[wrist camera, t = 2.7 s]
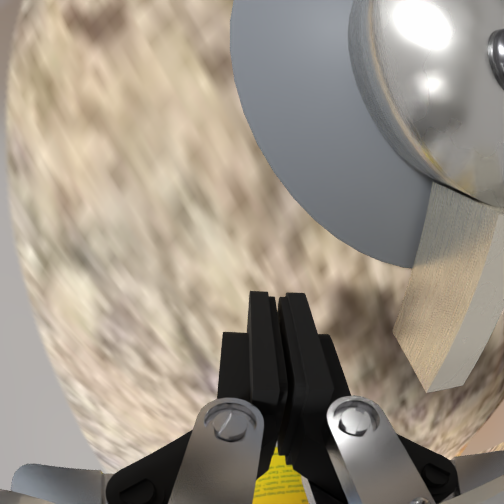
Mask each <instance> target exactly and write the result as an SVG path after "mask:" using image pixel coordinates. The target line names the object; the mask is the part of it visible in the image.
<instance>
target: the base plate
mask: <svg viewBox="0 0 504 504" xmlns="http://www.w3.org/2000/svg"><path fill="white" fill-rule="evenodd" d="M353 1H354V0H234V2H233V8H232V14H231V19H230V53H231V60H232V67H233V73H234V80H235V84H236V88H237V91H238V94H239V98H240V101H241V105H242V108H243V112H244V114H245V117H246V119H247V121H248V123H249V126H250V128H251V130H252V133H253V135H254V137H255V140H256V142H257V144H258V146H259V147H260V149H261V151H262V153H263V154H264V156H265V158H266V159H267V161H268V163H269V165H270V166H271V168H272V170H273V171H274V173H275V174H276V176H277V177H278V178H279V179H280V181H281V182H282V183H283V185H284V186H285V187H286V189H287V190H288V191H289V193H290V194H291V195H292V197H293V198H294V199H295V200H296V201H297V202H298V203H299V204H300V205H301V206H302V207H303V208H304V209H305V210H306V212H307V213H308V214H309V215H310V216H311V217H312V218H313V219H314V220H315V221H316V222H318V223H319V224H320V225H321V226H323V227H324V228H325V229H326V230H328V231H329V232H330V233H331V234H333V235H334V236H335V237H336V238H338V239H339V240H341V241H343V242H344V243H346V244H348V245H349V246H351V247H352V248H354V249H356V250H357V251H359V252H361V253H363V254H366V255H368V256H370V257H373V258H375V259H377V260H379V261H382V262H385V263H389V264H393V265H396V266H400V267H405V268H413V265H414V262H415V258H416V255H417V251H418V247H419V243H420V239H421V235H422V231H423V226H424V222H425V218H426V213H427V208H428V204H429V199H430V193H431V188H432V182H437V183H441V182H439V181H437V180H435V179H432V178H430V177H428V176H426V175H425V174H423V173H421V172H420V171H418V170H417V169H415V168H414V167H413V166H411V165H410V164H409V163H408V162H407V161H406V160H404V159H403V158H402V157H401V156H400V155H399V154H398V153H397V152H396V151H395V150H394V148H393V147H392V146H391V145H390V144H389V143H388V141H387V140H386V139H385V137H384V136H383V135H382V133H381V132H380V131H379V129H378V127H377V126H376V124H375V123H374V121H373V119H372V118H371V116H370V114H369V112H368V110H367V108H366V106H365V104H364V102H363V100H362V97H361V95H360V92H359V89H358V87H357V84H356V81H355V78H354V74H353V70H352V67H351V61H350V55H349V49H348V24H349V15H350V12H351V8H352V4H353ZM442 184H443V183H442Z"/></svg>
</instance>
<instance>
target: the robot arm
mask: <svg viewBox="0 0 504 504" xmlns="http://www.w3.org/2000/svg"><path fill="white" fill-rule="evenodd" d="M276 443H277V447H278V455H279V456H285V461H286V465H292V467H293V470H295V471H296V472H298V473H299V474H301V478H302V484H303V487H304V490H305V493H306V496H307V499H308V502H309V504H504V451H495V452H489V453H482V454H475V455H467V456H458V457H454V458H453V459H452V460H448V459H447V458H445V457H444V456H442V455H440V454H437V453H435V452H433V451H431V450H429V449H427V448H425V447H423V446H420V445H418V444H416V443H414V442H412V441H410V440H408V439H406V438H404V437H402V436H400V435H398V434H396V432H395V431H394V429H393V427H392V425H391V424H390V422H389V420H388V419H387V417H386V415H385V413H384V412H383V410H382V409H381V408H380V407H379V405H377V404H376V403H375V402H373V401H372V400H370V399H367V398H365V397H361V396H351V394H350V391H349V388H348V385H347V382H346V379H345V376H344V373H343V370H342V367H341V364H340V362H339V359H338V356H337V353H336V350H335V347H334V344H333V342H332V339H331V337H330V335H328V334H318V333H317V330H316V327H315V323H314V320H313V317H312V314H311V311H310V308H309V304H308V301H307V298H306V295H305V293H286V296H285V297H280V298H279V303H278V311H277V308H276V302H275V297H269V296H268V292H260V291H250V295H249V310H248V324H247V333H236V332H223V338H222V348H221V359H220V371H219V382H218V394H217V399H216V400H214V401H212V402H209V403H208V404H206V405H205V406H204V407H203V408H202V409H201V411H200V412H199V414H198V416H197V419H196V422H195V425H194V428H193V430H191V431H190V432H188V433H186V434H185V435H183V436H181V437H180V438H178V439H176V440H175V441H173V442H171V443H169V444H168V445H166V446H164V447H162V448H161V449H159V450H157V451H155V452H153V453H152V454H150V455H148V456H146V457H144V458H142V459H141V460H139V461H137V462H135V463H133V464H131V465H129V466H127V467H125V468H123V469H121V470H120V471H118V472H117V473H115V474H104V473H102V471H101V470H86V469H74V468H64V467H55V466H48V465H41V464H26V465H23V466H21V467H20V468H19V469H18V470H17V471H16V472H15V473H14V476H13V479H12V485H11V491H8V490H2V489H0V504H252V502H253V496H254V490H255V484H256V480H257V479H258V478H260V477H261V476H262V475H263V474H264V473H266V472H267V471H268V470H269V466H270V462H271V458H272V456H273V455H274V451H275V447H276Z"/></svg>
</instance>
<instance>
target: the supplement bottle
mask: <svg viewBox="0 0 504 504" xmlns="http://www.w3.org/2000/svg"><path fill="white" fill-rule="evenodd" d="M252 504H309V502H308V499H307V496H306V493H305V490H304V487H303V484H302V478H301V474H299V473H298V472H296V471H295V470H293V467H292V465H286V461H285V456H279V455H278V447H277V443H276V447H275V451H274V455H273V456H272V458H271V462H270V466H269V470H268V471H267V472H266V473H264V474H263V475H262V476H261V477H260V478H258V479H257V480H256V484H255V490H254V496H253V502H252Z"/></svg>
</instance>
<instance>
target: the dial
mask: <svg viewBox="0 0 504 504" xmlns="http://www.w3.org/2000/svg"><path fill="white" fill-rule="evenodd" d="M348 49H349V55H350V61H351V67H352V70H353V74H354V78H355V81H356V84H357V87H358V89H359V92H360V95H361V97H362V100H363V102H364V104H365V106H366V108H367V110H368V112H369V114H370V116H371V118H372V119H373V121H374V123H375V124H376V126H377V127H378V129H379V131H380V132H381V133H382V135H383V136H384V137H385V139H386V140H387V141H388V143H389V144H390V145H391V146H392V147H393V148H394V150H395V151H396V152H397V153H398V154H399V155H400V156H401V157H402V158H403V159H404V160H406V161H407V162H408V163H409V164H410V165H411V166H413V167H414V168H415V169H417V170H418V171H420V172H421V173H423V174H425V175H426V176H428V177H430V178H432V179H435V180H437V181H439V182H441V183H437V182H432V188H431V193H430V199H429V204H428V208H427V213H426V218H425V222H424V226H423V231H422V235H421V239H420V243H419V247H418V251H417V255H416V258H415V262H414V265H413V269H412V272H411V276H410V279H409V283H408V286H407V289H406V292H405V295H404V298H403V302H402V305H401V308H400V311H399V313H398V316H397V319H396V322H395V325H394V328H393V330H392V332H393V334H394V335H395V337H396V339H397V341H398V342H399V344H400V346H401V348H402V349H403V351H404V353H405V355H406V357H407V358H408V360H409V362H410V364H411V366H412V367H413V369H414V371H415V373H416V375H417V377H418V379H419V380H420V382H421V384H422V386H423V388H424V390H425V392H426V393H428V392H434V391H439V390H444V389H449V388H453V387H458V386H462V385H463V384H464V383H465V381H466V379H467V378H468V376H469V374H470V373H471V371H472V369H473V368H474V366H475V364H476V362H477V360H478V359H479V357H480V355H481V353H482V351H483V349H484V348H485V346H486V344H487V342H488V340H489V338H490V336H491V334H492V332H493V330H494V328H495V326H496V323H497V321H498V319H499V317H500V315H501V313H502V310H503V308H504V0H354V1H353V4H352V8H351V12H350V15H349V24H348ZM442 183H443V184H442Z"/></svg>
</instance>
